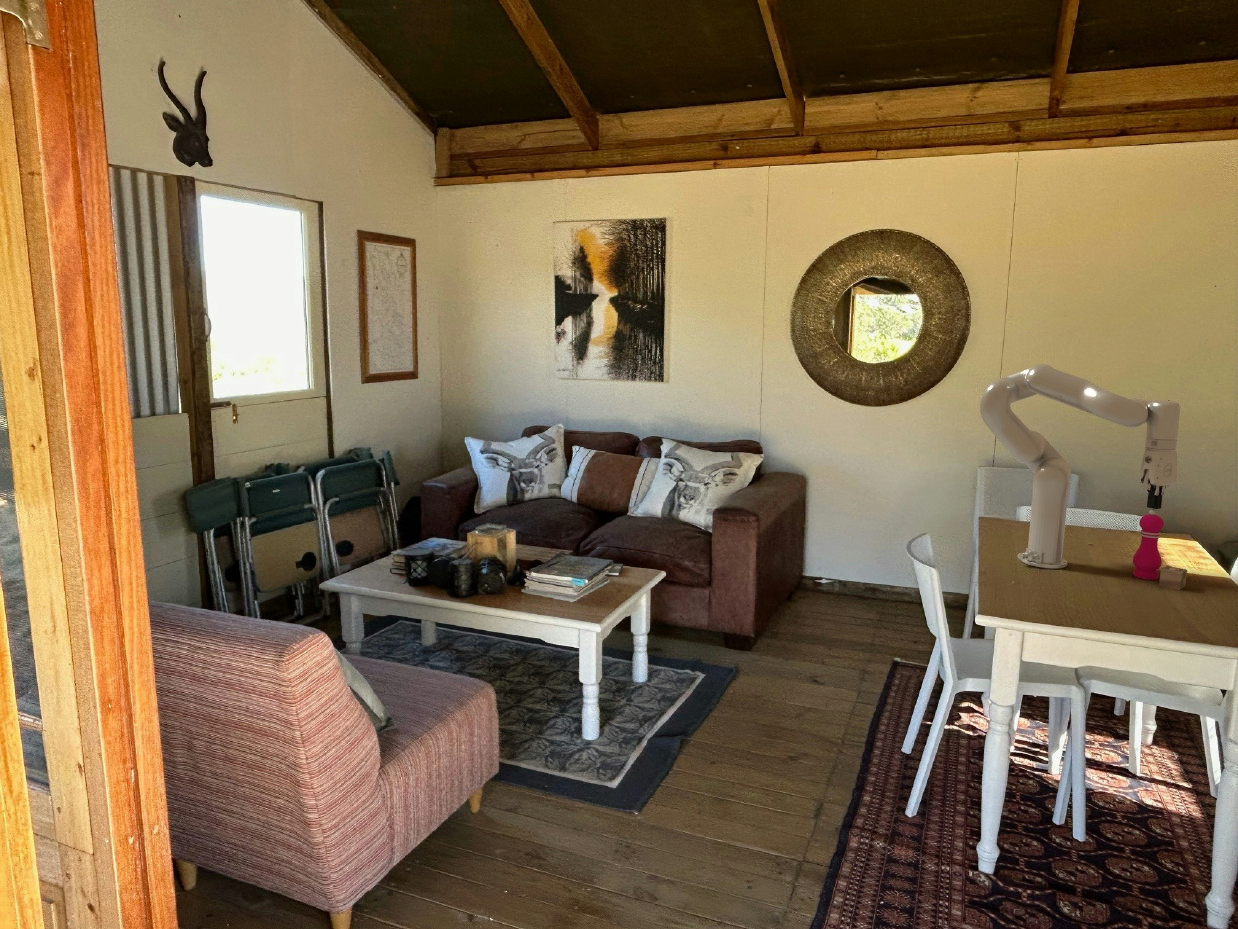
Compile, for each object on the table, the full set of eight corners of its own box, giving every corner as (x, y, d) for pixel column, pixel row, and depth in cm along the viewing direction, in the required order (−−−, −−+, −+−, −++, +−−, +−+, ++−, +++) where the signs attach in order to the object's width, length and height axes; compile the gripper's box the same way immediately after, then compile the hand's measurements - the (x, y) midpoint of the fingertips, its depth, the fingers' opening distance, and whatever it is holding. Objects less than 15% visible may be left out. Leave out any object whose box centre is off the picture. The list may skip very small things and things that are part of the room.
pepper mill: (1164, 581, 248) (1172, 512, 244) (1136, 579, 249) (1144, 511, 246) (1154, 573, 255) (1161, 507, 251) (1127, 572, 256) (1134, 506, 253)
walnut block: (1179, 590, 240) (1181, 572, 239) (1159, 586, 244) (1161, 568, 243) (1185, 586, 243) (1187, 569, 242) (1165, 582, 247) (1167, 565, 246)
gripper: (1156, 448, 239) (1150, 513, 242) (1190, 444, 245) (1183, 508, 248) (1130, 444, 246) (1124, 508, 249) (1164, 441, 252) (1157, 503, 255)
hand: (1153, 508), depth 249 cm, fingers closed
